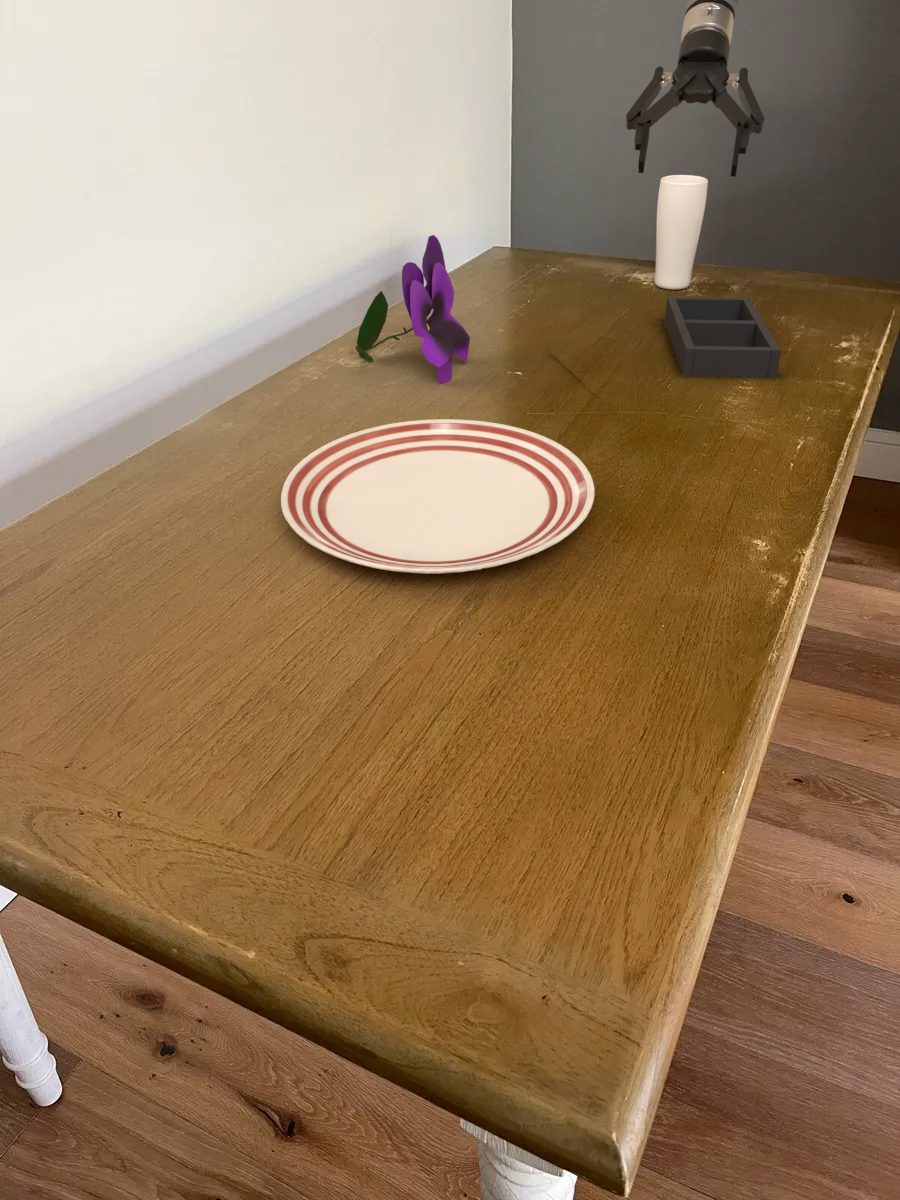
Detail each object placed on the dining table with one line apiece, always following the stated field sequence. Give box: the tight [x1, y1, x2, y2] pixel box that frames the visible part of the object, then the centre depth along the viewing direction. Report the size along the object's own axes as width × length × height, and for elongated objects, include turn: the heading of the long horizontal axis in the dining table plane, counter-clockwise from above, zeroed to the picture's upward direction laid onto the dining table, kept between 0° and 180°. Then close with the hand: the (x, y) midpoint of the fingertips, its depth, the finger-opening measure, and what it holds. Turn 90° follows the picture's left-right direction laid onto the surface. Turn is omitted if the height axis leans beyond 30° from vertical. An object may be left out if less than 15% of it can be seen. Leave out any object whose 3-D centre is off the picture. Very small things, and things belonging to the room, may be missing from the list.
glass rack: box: [663, 296, 782, 378], centre depth 117 cm, size 10×20×5 cm, turn 175°
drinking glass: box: [653, 174, 709, 291], centre depth 140 cm, size 7×7×15 cm
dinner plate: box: [280, 418, 596, 574], centre depth 85 cm, size 28×27×3 cm
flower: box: [355, 234, 471, 384], centre depth 114 cm, size 15×15×14 cm
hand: (686, 169), depth 143 cm, fingers open, 13 cm apart
